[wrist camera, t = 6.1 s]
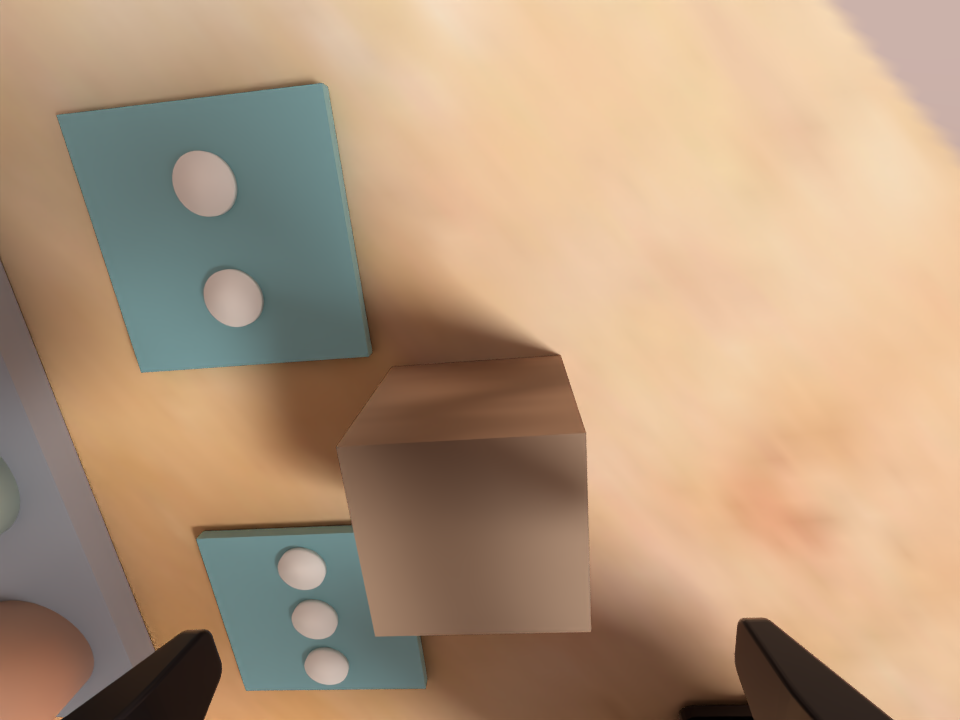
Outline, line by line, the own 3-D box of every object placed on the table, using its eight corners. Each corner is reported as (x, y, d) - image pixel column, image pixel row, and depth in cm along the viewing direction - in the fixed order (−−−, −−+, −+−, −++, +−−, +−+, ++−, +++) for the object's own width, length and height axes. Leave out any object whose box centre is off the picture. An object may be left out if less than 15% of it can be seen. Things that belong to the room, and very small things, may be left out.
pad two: (328, 86, 12) (318, 81, 12) (372, 352, 14) (366, 358, 14) (69, 117, 13) (49, 113, 12) (150, 368, 15) (136, 374, 14)
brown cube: (560, 354, 14) (585, 433, 9) (566, 500, 16) (591, 632, 11) (392, 365, 15) (336, 446, 10) (414, 507, 16) (375, 636, 11)
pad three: (401, 523, 16) (397, 534, 16) (427, 678, 18) (424, 693, 18) (203, 531, 17) (192, 542, 16) (251, 680, 19) (243, 695, 18)
